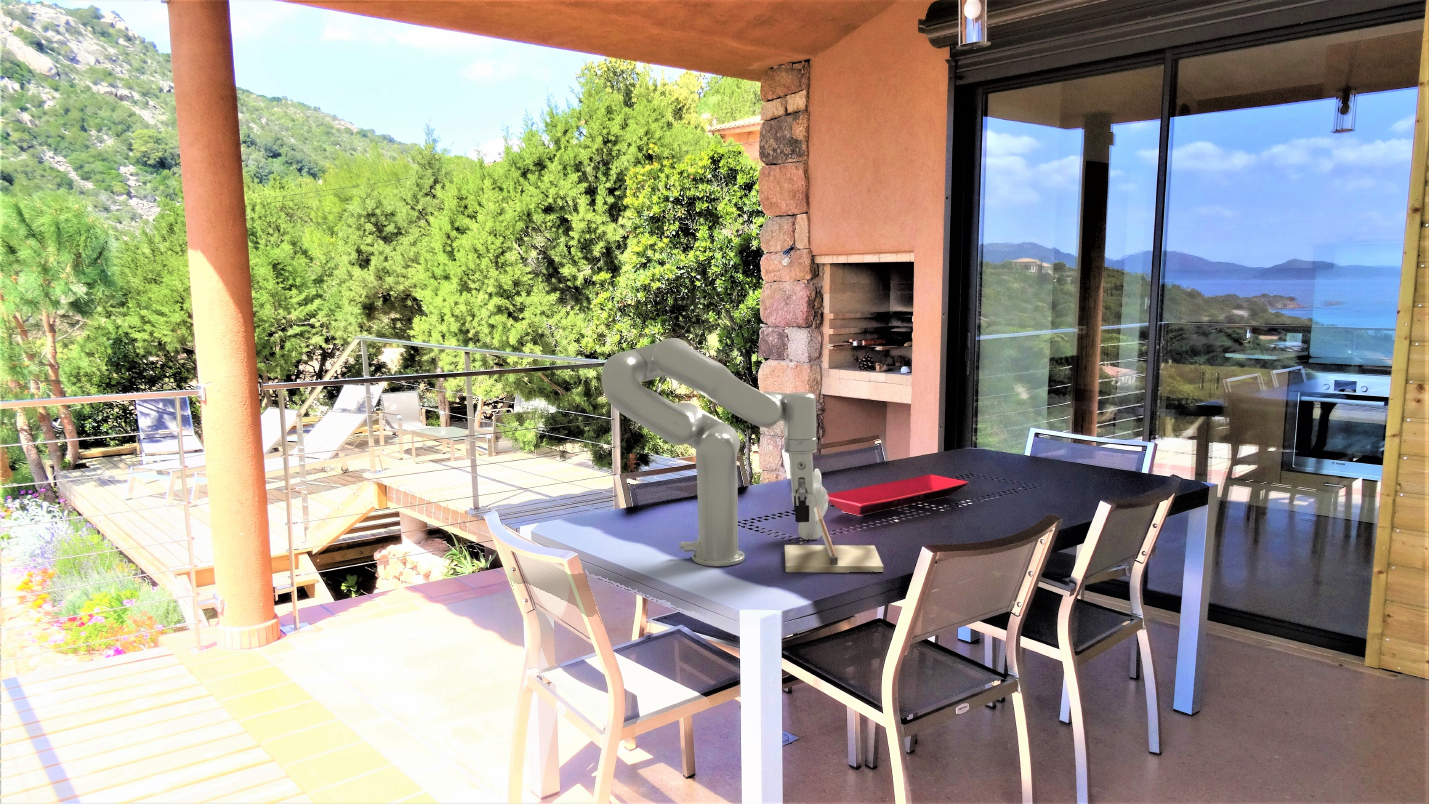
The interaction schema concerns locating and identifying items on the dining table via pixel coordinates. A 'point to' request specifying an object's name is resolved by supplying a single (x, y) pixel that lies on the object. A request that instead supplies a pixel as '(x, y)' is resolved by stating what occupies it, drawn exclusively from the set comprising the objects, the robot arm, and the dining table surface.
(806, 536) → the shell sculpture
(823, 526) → the tile
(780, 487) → the dining table surface
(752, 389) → the robot arm
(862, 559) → the board
